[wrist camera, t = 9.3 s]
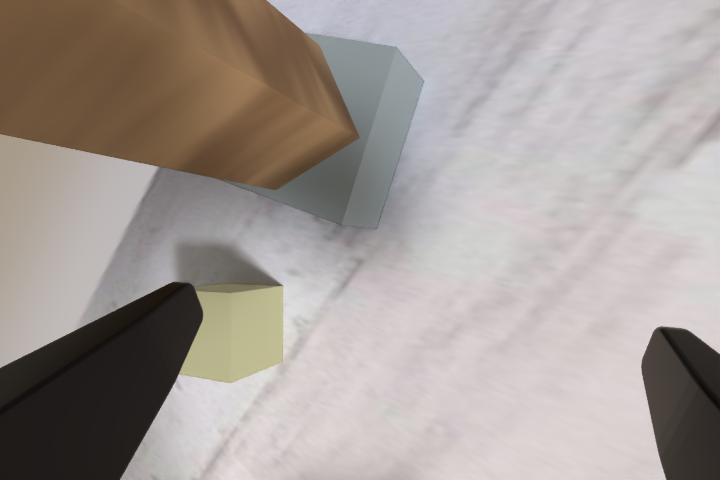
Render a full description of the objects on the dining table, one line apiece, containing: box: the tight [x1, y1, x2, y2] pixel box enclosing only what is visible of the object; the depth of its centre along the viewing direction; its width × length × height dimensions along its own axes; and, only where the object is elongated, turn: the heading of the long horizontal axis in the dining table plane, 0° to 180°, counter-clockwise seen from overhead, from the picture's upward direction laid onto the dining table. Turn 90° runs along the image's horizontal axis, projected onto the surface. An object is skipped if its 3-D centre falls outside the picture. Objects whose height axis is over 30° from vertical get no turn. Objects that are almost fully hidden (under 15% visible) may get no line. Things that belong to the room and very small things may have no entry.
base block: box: [216, 33, 424, 229], centre depth 22 cm, size 8×8×4 cm
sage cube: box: [179, 283, 283, 383], centre depth 24 cm, size 4×4×4 cm
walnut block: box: [0, 0, 360, 190], centre depth 14 cm, size 5×5×13 cm
